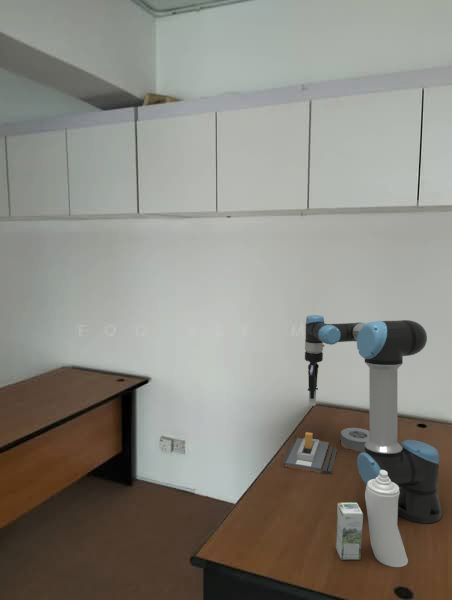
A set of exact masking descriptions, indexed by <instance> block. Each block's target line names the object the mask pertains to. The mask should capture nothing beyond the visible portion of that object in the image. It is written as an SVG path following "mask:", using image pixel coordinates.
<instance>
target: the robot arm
mask: <svg viewBox="0 0 452 600" xmlns="http://www.w3.org/2000/svg"><path fill="white" fill-rule="evenodd" d="M427 338H428V336H427V331H426V329H425V327H423V326H422V325H421V324H420V323H418V322H416V321H414V320H409V319H407V320H406V319H405V320H404V319H402V320H377V321H370V322H348V323H347V322H346V323H325V318H324V316H323V315H317V314H310V315H307V316H306V319H305V340H304V350H305V352H304V360H305V361H306V362H309V364H308V366H307V369H308V370H307V374H308V388H307V391H309V392H308V406H314V407H315V406H317V405H316V403H317V391H318V390H319V388H318V374H319V367H320V366H319V364H318V363H321V362H322V361H323V359H324V357H323V356H324V355H323V354H324V353H323V352H324V347H325V345H330V346H332V345H336V344H338V343H346V342H355V343H356V347H357V350H358V354H359V355H360V357H362V358H363V359H364V364H365V365H367V366H368V368H369V431H370V439H369V440H368V441H367V442H366V443H365V452H359V454H358V456H357V459H356V461H357V462H356V463H357V470H358V473H359V475H360V477H361V479H362V481H363V483H364V484H365V485H366V486H367V483H368V481H369V480H372V479H376V477H378V475H379V474H380V470H385V471H387V473H388V477H389V479H390V480H391V482H393V483H395V484H396V485H398V487H399V491H400V494H399V498H398V515H399V516H400V517H402V518H404V519H405V520H408V521H410V522H414V523H419V524H434V523H437V522H438V521H440V520H441V518H442V510H443V509H442V507H441V502H440V499H439V495H438V481H439V479H438V478H439V469H440V467H439V466H440V454H439V451H438V450H437V449H436V448H435V447H434V446H433V445H430V444H428V443H426V442H423V441H419V440H415V439H413V440H412V439H404V440H403V441H402V442H401V444H400V443H399V442H398V369H399V368H400V367H401V366H402V365H403V357H407V356H408V357H410V356H414V355H416V354H418V353H420V352H421V351H422V350H424V348H425V347H426V344H427V341H428V339H427Z"/></svg>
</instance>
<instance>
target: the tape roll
mask: <svg viewBox="0 0 452 600" xmlns="http://www.w3.org/2000/svg"><path fill="white" fill-rule="evenodd" d="M369 439H370V430H367V429H365V428H360V427H347V428H344V429H342V430H341V431H340V440H341V442H342V443H343V444H344V445H345V446H346V447H348V448H351V449H354V450H358V451H365V443H366V442H367V441H368V440H369Z"/></svg>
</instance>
